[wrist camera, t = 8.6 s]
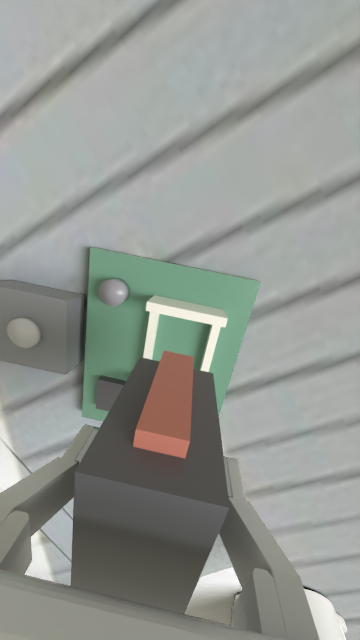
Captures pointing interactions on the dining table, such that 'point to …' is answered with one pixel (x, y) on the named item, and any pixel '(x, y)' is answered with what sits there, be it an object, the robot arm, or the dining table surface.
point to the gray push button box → (40, 326)
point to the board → (158, 321)
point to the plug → (151, 488)
